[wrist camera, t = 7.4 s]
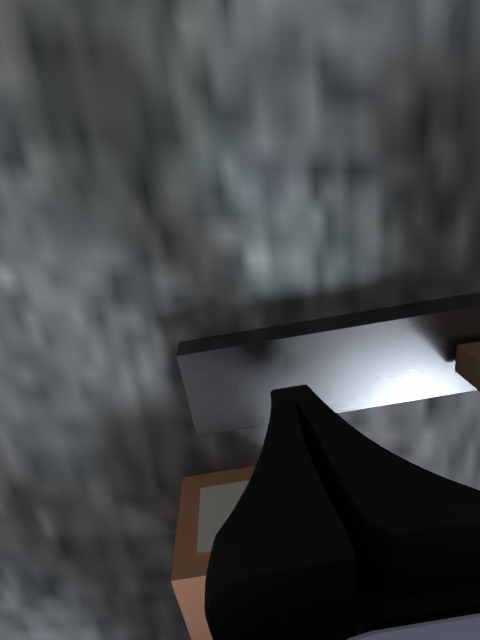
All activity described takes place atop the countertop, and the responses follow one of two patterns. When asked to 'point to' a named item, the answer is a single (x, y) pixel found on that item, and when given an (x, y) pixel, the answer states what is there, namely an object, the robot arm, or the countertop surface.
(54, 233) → the countertop surface
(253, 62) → the countertop surface
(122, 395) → the countertop surface
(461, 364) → the panel
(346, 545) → the robot arm
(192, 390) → the rail
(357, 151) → the countertop surface
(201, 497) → the cube
